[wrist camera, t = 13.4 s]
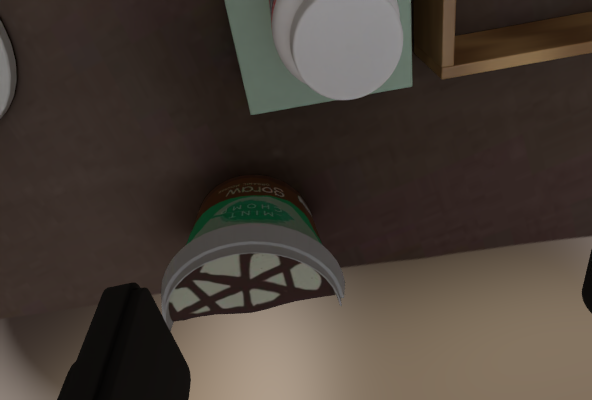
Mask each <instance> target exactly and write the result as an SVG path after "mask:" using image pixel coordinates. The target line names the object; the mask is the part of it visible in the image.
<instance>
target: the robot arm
mask: <svg viewBox="0 0 592 400" xmlns="http://www.w3.org/2000/svg"><path fill="white" fill-rule="evenodd" d="M16 81H17V75H16V61H15V57H14V53H13V49H12V45H11V42H10V39H9V37H8V35H7V33H6V31H5V28H4V26H3V24H2V22H1V20H0V119H1V118H2V116H3V115H4V114H5V113H6V111H7V110H8V108H9V106H10V104H11V102H12V99H13V97H14V93H15V87H16ZM582 297H583V301H584V303H585V305H586V307H587V308H588V309H589V311H590V312H591V313H592V250H591V254H590V259H589V263H588V267H587V271H586V276H585V280H584V284H583V288H582ZM190 381H191V379H190V371H189V367H188V365H187V363H186V361H185V359H184V357H183V355H182V353H181V351H180V349H179V347H178V345H177V344H176V342H175V340H174V338H173V336H172V334H171V332H170V330H169V328H168V326H167V324H166V322H165V320H164V318H163V316H162V315H161V313H160V311H159V309H158V307H157V305H156V303H155V301H154V299H153V297H152V295H151V293H150V292H149V290H148V289H147V288H140V287H139V285H138V284H136V283H129V284H124V285H119V286H114V287H109V288H107V289H105V290H104V292H103V294H102V296H101V299H100V301H99V304H98V307H97V309H96V312H95V314H94V317H93V319H92V322H91V325H90V327H89V330H88V332H87V335H86V337H85V340H84V343H83V345H82V348H81V350H80V353H79V355H78V358H77V360H76V362H75V363H74V364H73V365H72V366H71V368H70V370H69V372H68V374H67V376H66V379H65V381H64V384H63V387H62V389H61V391H60V394H59V397H58V399H57V400H188V398H189V391H190Z"/></svg>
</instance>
